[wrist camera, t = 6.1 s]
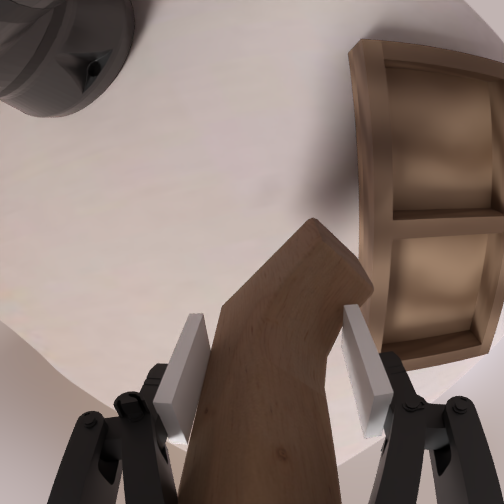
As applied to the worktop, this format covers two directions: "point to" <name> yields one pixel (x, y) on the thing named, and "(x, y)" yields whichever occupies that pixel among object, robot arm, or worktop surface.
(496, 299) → the tray
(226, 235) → the worktop surface
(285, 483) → the wooden block
